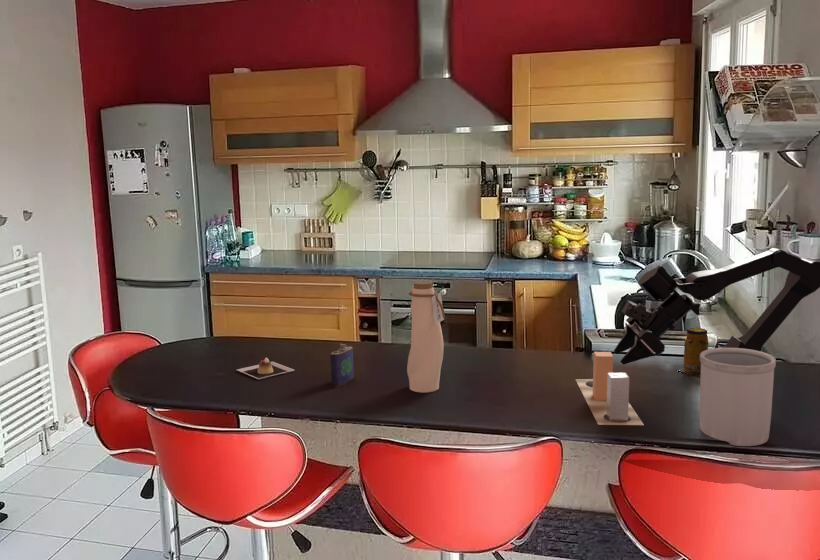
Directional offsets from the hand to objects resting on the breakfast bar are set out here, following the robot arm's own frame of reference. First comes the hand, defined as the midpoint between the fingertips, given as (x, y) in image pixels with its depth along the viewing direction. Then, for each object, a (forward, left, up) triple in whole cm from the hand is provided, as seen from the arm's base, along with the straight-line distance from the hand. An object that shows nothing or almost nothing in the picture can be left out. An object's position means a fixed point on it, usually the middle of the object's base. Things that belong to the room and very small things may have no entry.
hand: (618, 357), depth 181 cm
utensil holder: (-24, -18, -11) cm, 31 cm away
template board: (-2, +3, -11) cm, 11 cm away
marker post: (0, +3, -10) cm, 11 cm away
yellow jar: (+20, -30, -11) cm, 38 cm away
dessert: (+34, +90, -12) cm, 97 cm away
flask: (+21, +67, -11) cm, 72 cm away
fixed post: (-14, +4, -10) cm, 17 cm away
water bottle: (+14, +45, -11) cm, 49 cm away
